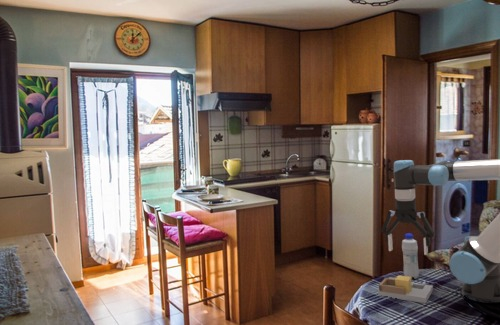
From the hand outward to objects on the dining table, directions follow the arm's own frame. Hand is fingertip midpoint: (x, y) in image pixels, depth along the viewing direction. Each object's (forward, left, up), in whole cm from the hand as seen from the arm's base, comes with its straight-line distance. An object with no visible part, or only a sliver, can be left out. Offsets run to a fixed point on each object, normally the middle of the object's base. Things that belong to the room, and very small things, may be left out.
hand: (408, 252), depth 158 cm
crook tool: (+6, -5, -15) cm, 17 cm away
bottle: (+4, -20, -18) cm, 27 cm away
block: (+2, +2, -15) cm, 16 cm away
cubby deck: (+2, -1, -17) cm, 18 cm away
